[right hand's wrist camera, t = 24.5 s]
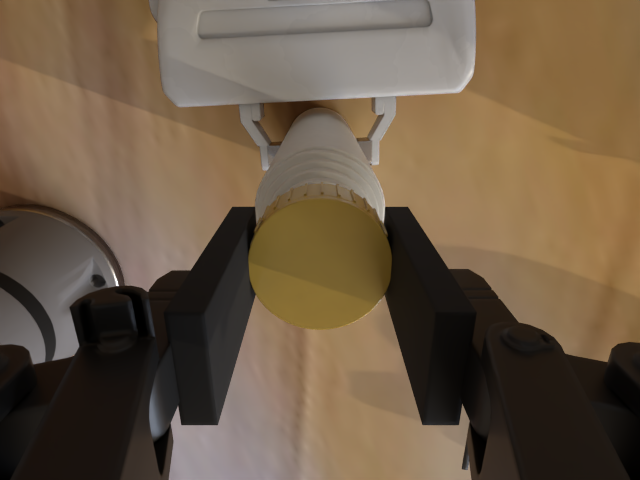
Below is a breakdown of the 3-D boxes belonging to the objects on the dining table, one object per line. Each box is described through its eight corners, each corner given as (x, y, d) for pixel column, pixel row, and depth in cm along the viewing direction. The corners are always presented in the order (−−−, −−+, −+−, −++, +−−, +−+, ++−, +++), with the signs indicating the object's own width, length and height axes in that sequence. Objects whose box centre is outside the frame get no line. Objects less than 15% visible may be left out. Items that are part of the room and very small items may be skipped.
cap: (228, 224, 14) (215, 244, 12) (345, 155, 13) (349, 167, 11) (298, 322, 15) (296, 352, 14) (408, 266, 14) (419, 291, 13)
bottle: (301, 180, 37) (272, 352, 14) (278, 120, 35) (202, 209, 12) (359, 159, 37) (427, 304, 14) (339, 97, 35) (378, 145, 12)
